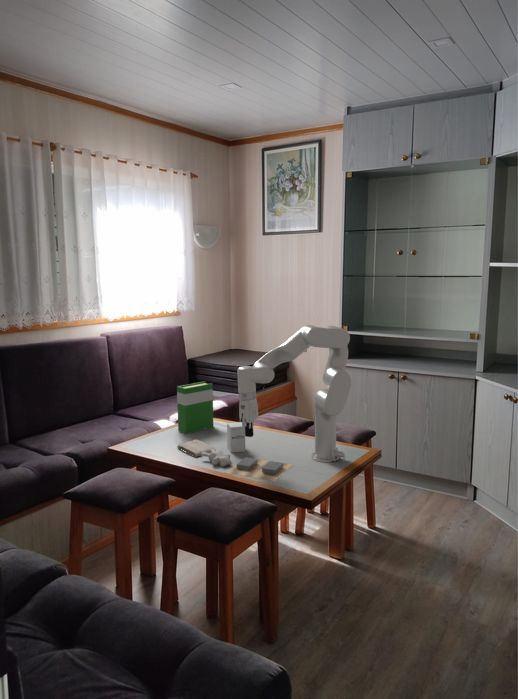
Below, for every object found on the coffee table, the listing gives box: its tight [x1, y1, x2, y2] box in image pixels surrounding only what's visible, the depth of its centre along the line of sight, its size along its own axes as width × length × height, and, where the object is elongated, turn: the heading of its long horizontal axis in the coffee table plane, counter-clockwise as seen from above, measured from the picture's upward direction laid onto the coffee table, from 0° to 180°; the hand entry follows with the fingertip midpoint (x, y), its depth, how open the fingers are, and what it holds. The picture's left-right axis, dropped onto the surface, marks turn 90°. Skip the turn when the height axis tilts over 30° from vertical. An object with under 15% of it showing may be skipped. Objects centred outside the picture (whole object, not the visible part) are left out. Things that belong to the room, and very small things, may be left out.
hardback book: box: [176, 381, 214, 434], centre depth 293 cm, size 18×7×24 cm, turn 131°
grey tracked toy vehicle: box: [176, 439, 217, 458], centre depth 261 cm, size 12×18×3 cm, turn 39°
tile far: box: [235, 457, 259, 470], centre depth 239 cm, size 6×2×9 cm
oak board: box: [225, 458, 293, 482], centre depth 236 cm, size 23×20×1 cm
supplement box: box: [226, 421, 246, 453], centre depth 260 cm, size 7×7×13 cm
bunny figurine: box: [200, 448, 232, 467], centre depth 244 cm, size 10×5×15 cm
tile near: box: [262, 460, 284, 475], centre depth 234 cm, size 6×2×9 cm
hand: (249, 436), depth 238 cm, fingers closed
